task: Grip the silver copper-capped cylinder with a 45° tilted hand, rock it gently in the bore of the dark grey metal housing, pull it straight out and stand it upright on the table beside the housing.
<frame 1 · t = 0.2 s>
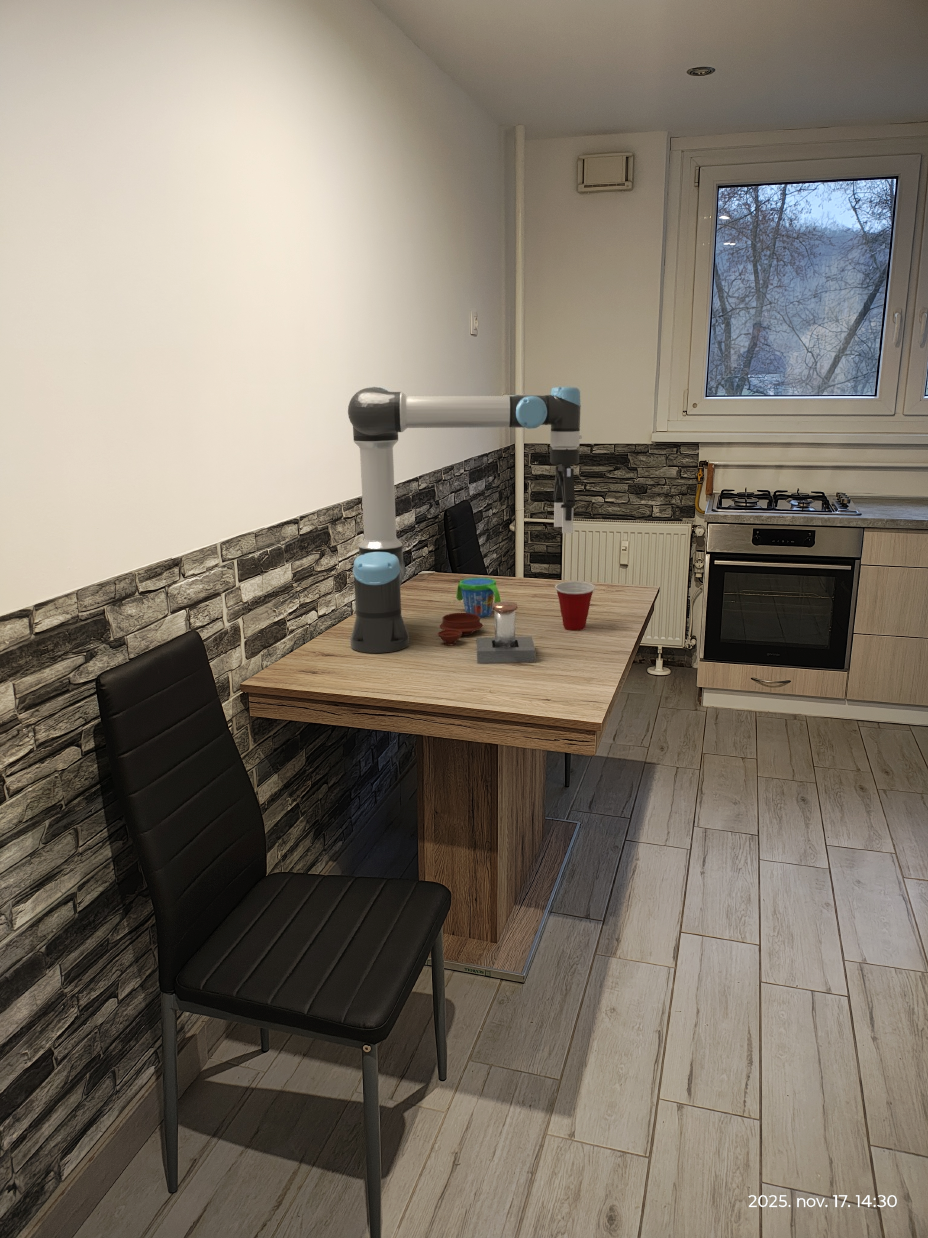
hand: (563, 529, 236), 27 cm above the table, tool pointing down, fingers open, 13 cm apart
metal housing: (505, 655, 220), on the table
plastic cup: (574, 628, 243), on the table
snack cup: (478, 615, 259), on the table
silver copper-capped cylinder: (505, 630, 219), in the metal housing
pottery: (457, 637, 238), on the table
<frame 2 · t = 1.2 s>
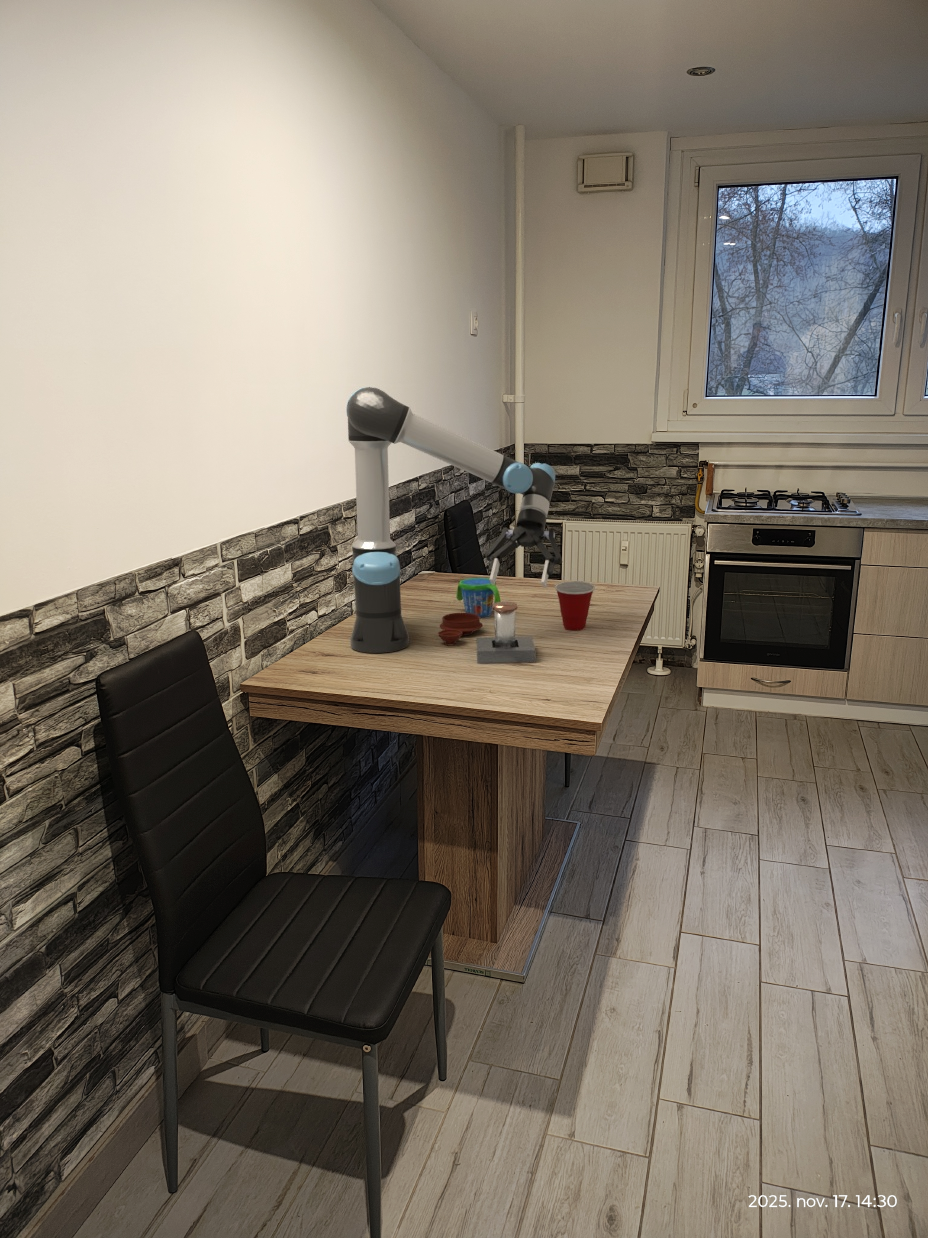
hand: (517, 583, 226), 16 cm above the table, tool tilted 45°, fingers open, 13 cm apart
nothing on the table moved.
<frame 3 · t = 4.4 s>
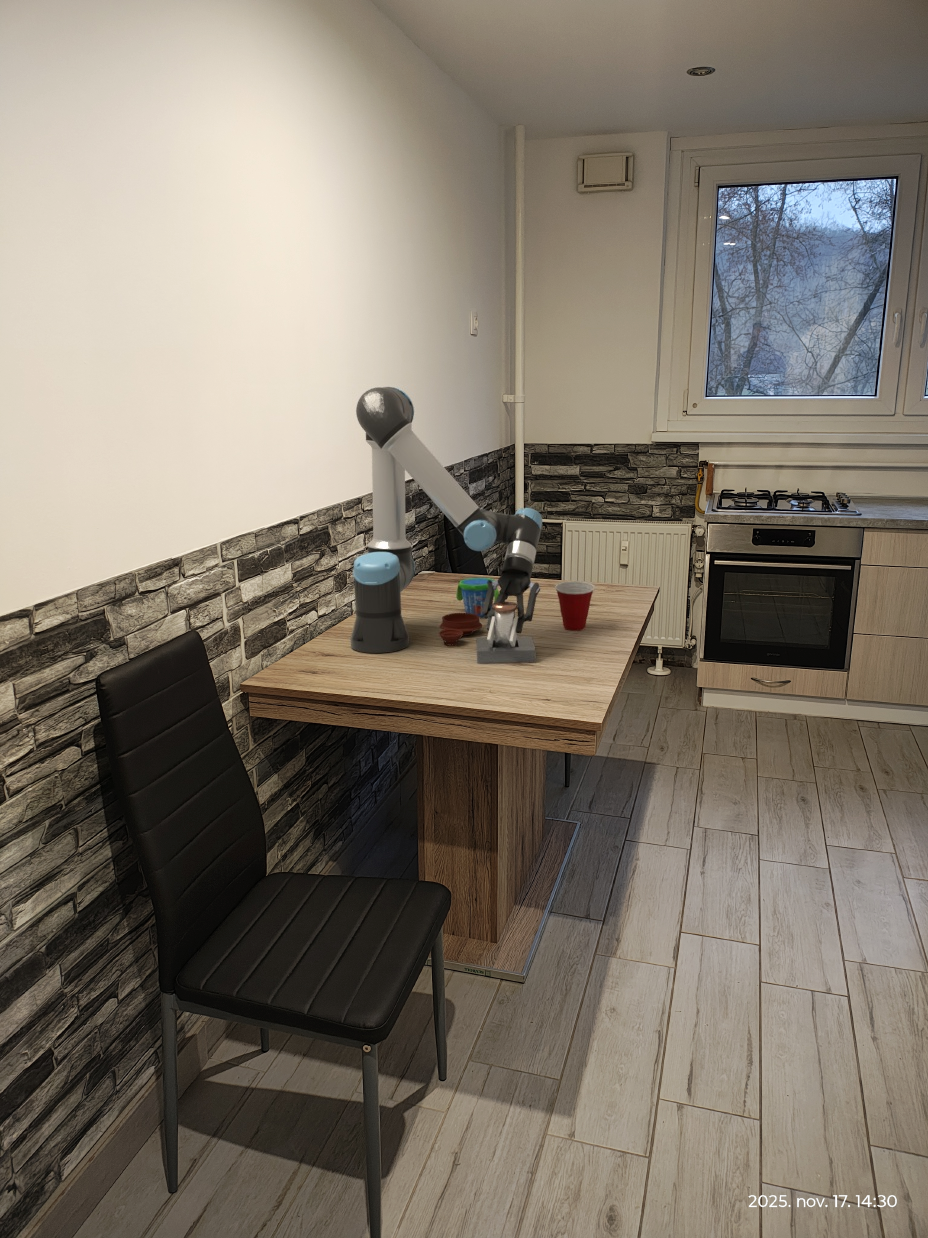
hand: (500, 642, 216), 4 cm above the table, tool tilted 45°, fingers closed on silver copper-capped cylinder, 5 cm apart
silver copper-capped cylinder: (505, 630, 219), in the metal housing, touching gripper
everything else where it was.
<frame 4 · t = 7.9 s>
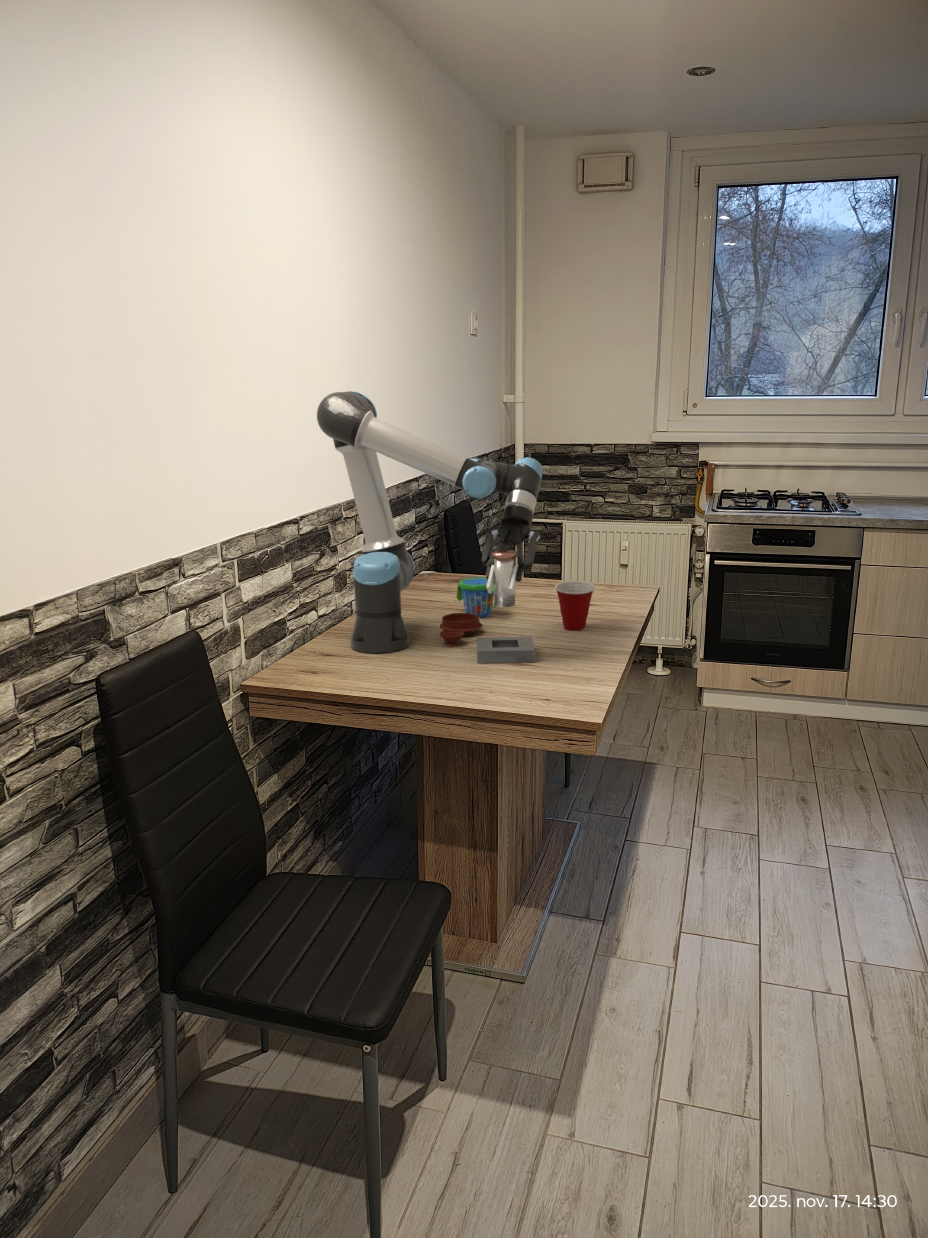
hand: (500, 590, 212), 17 cm above the table, tool tilted 45°, fingers closed on silver copper-capped cylinder, 5 cm apart
silver copper-capped cylinder: (504, 578, 215), point 19 cm above the table, touching gripper
everything else where it was.
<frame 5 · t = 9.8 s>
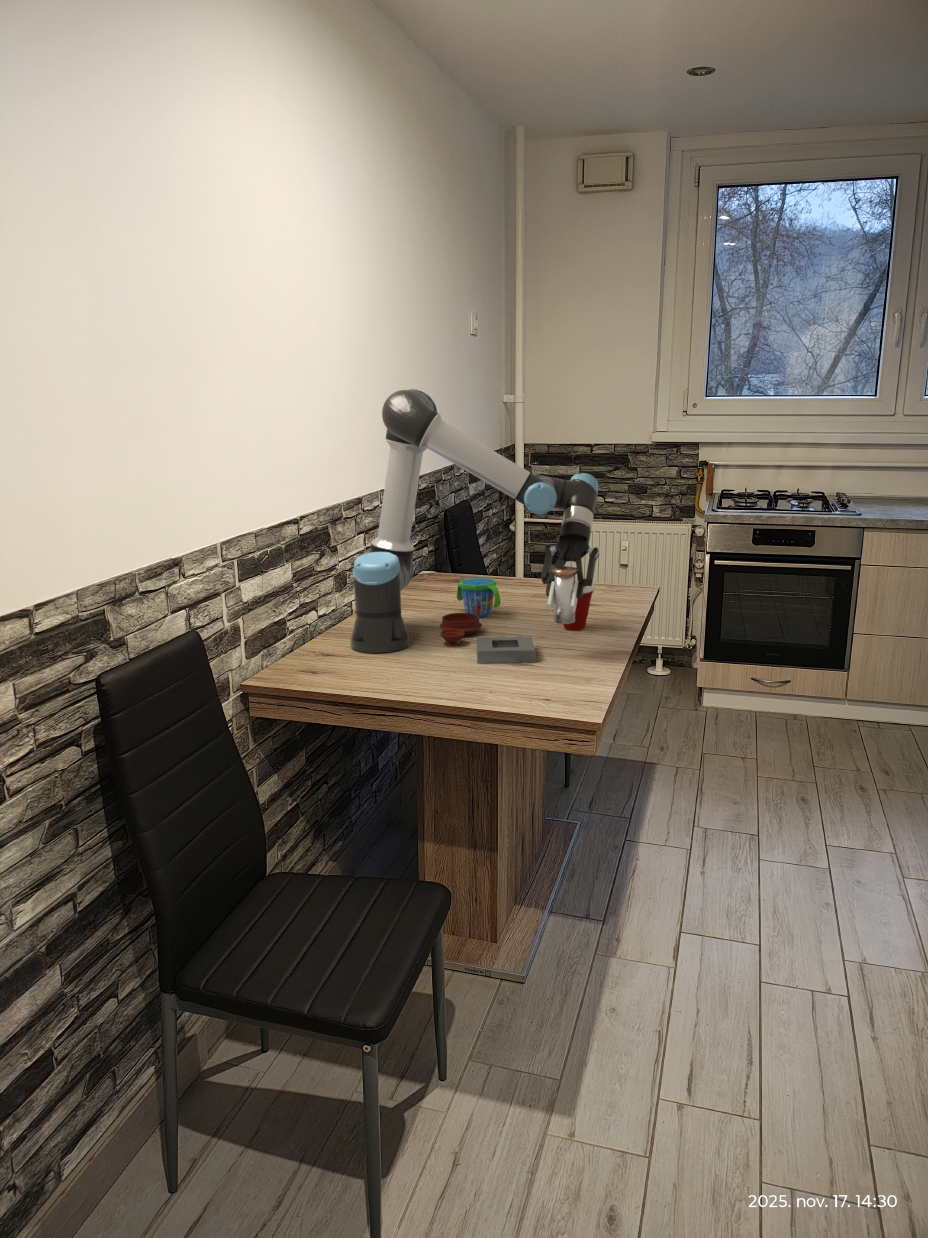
hand: (561, 607, 212), 13 cm above the table, tool tilted 45°, fingers closed on silver copper-capped cylinder, 5 cm apart
silver copper-capped cylinder: (564, 595, 215), point 15 cm above the table, touching gripper
everything else where it was.
when the fingers open (6 cm above the table, at t = 11.3 s): silver copper-capped cylinder drops 1 cm, on the table.
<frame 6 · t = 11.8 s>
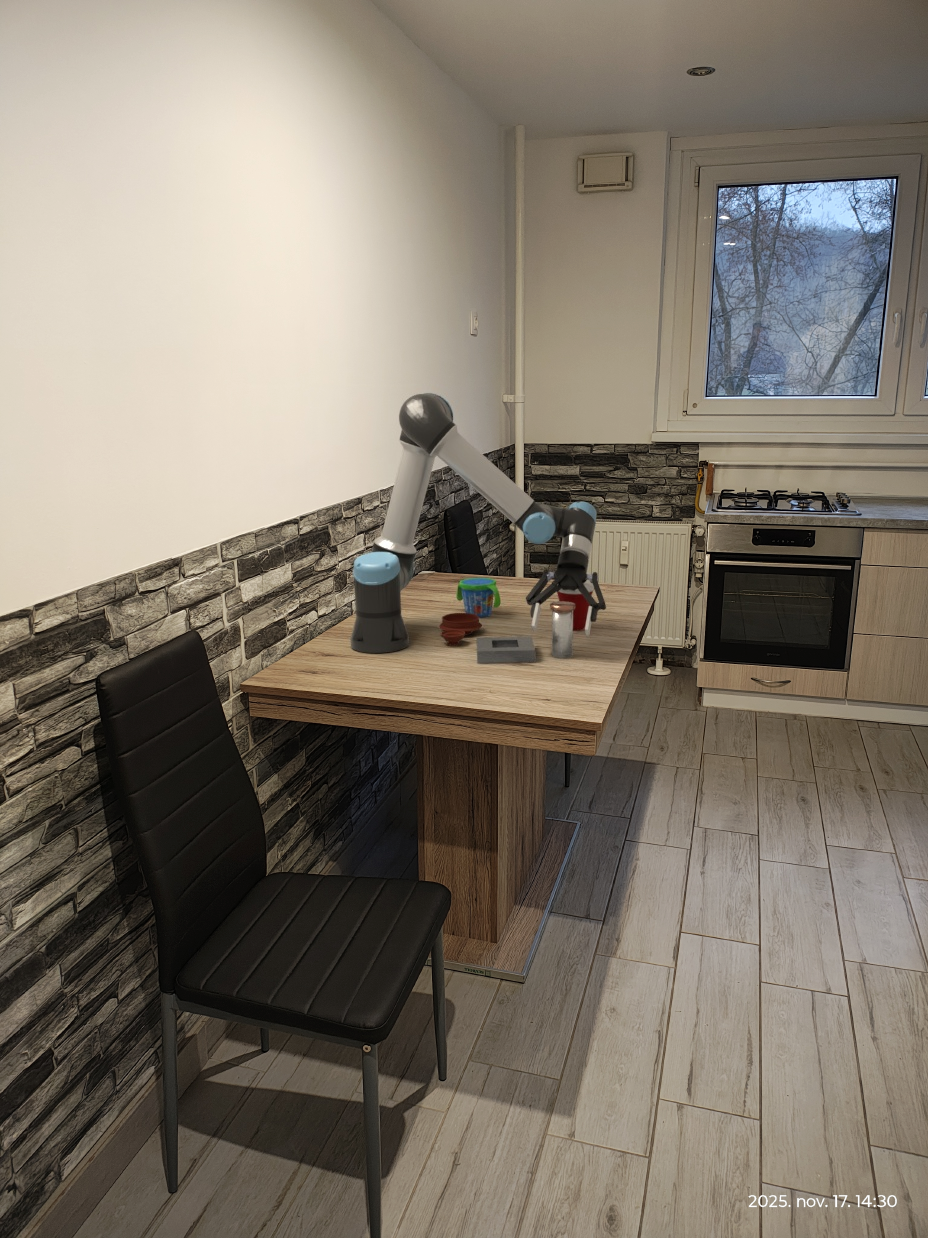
hand: (560, 630, 215), 7 cm above the table, tool tilted 45°, fingers open, 12 cm apart
silver copper-capped cylinder: (562, 630, 218), on the table
everything else where it was.
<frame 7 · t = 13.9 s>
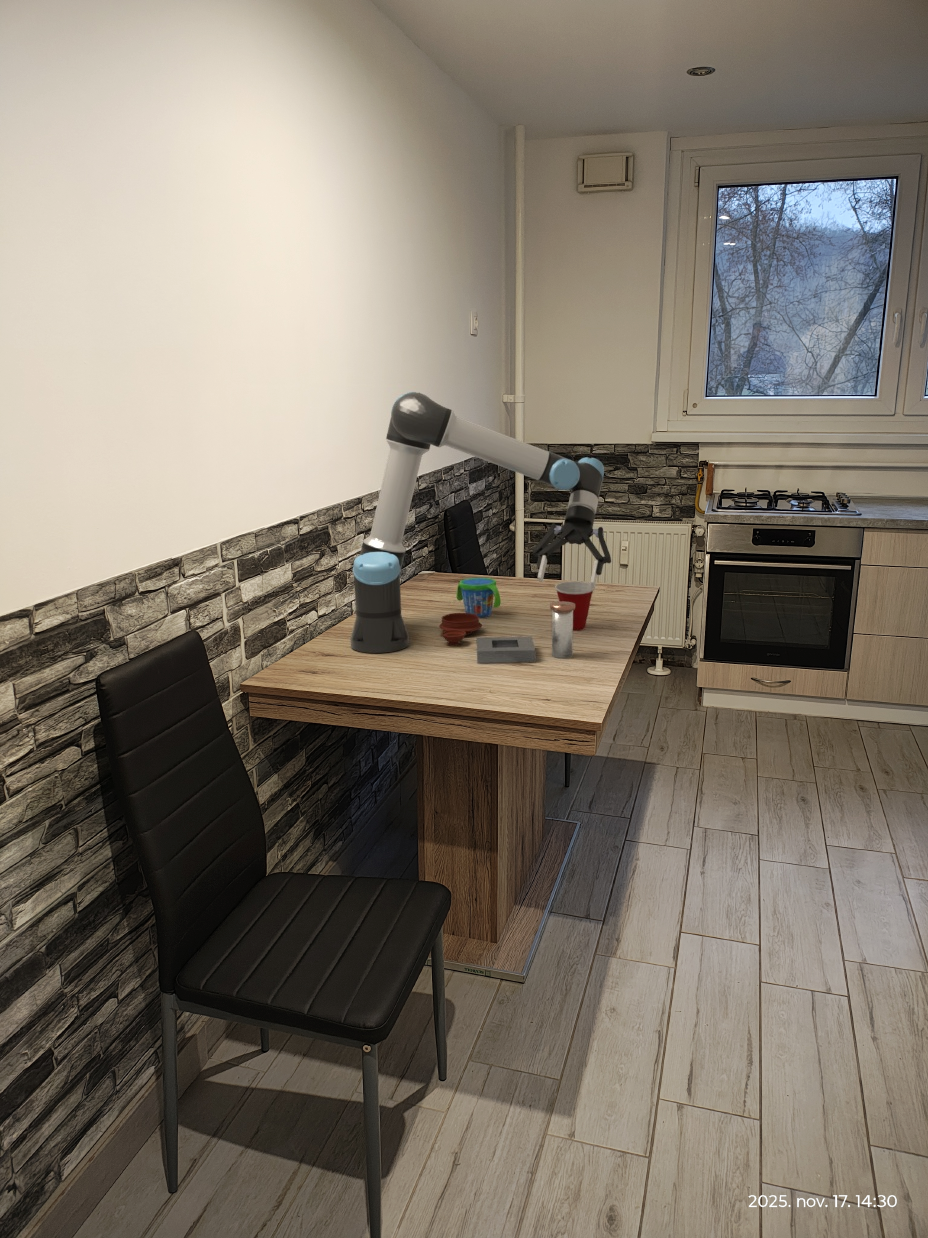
hand: (565, 582, 225), 16 cm above the table, tool tilted 40°, fingers open, 13 cm apart
nothing on the table moved.
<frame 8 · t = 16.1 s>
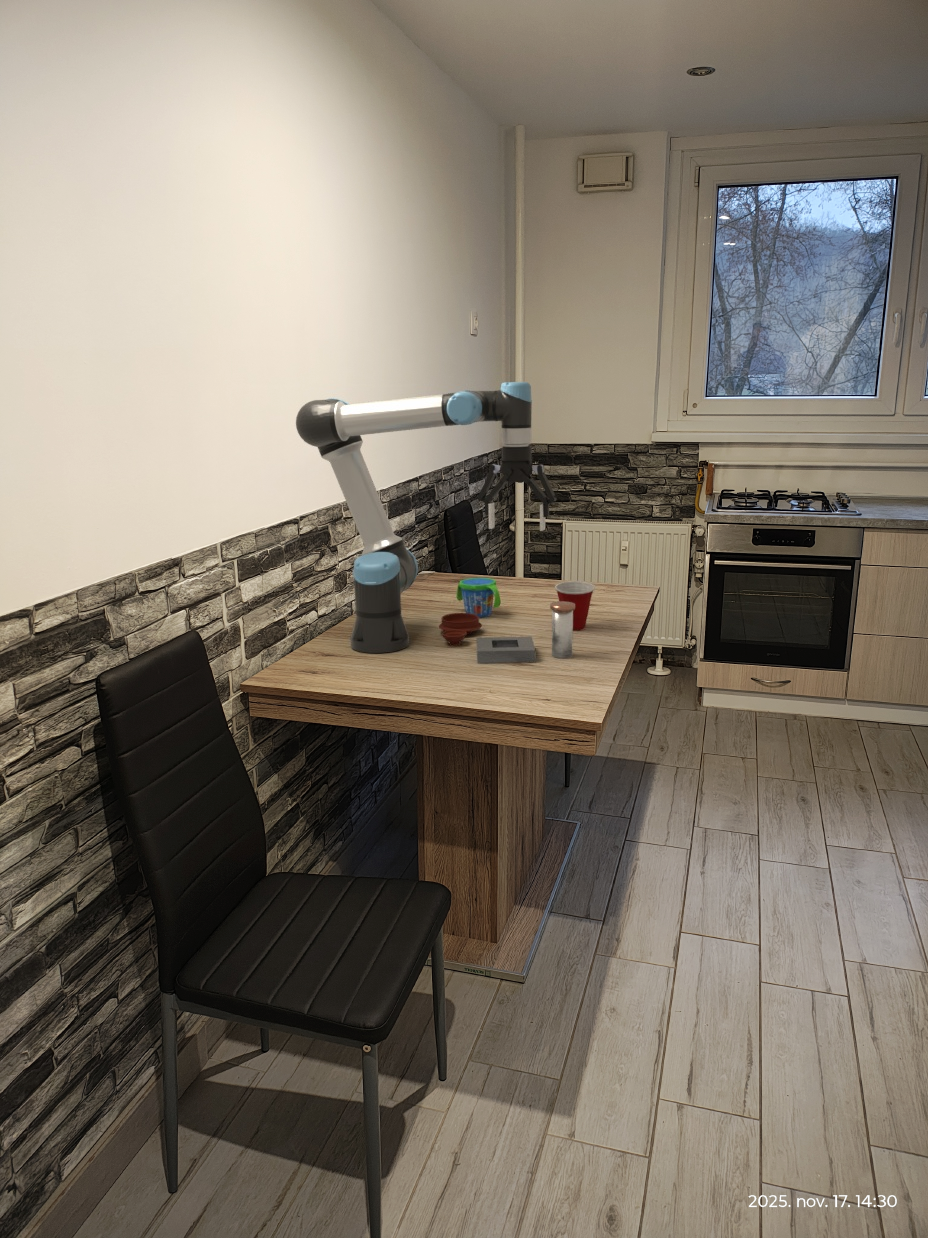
hand: (516, 529, 229), 29 cm above the table, tool pointing down, fingers open, 13 cm apart
nothing on the table moved.
at the end: silver copper-capped cylinder inside the target area (0.0 cm from its centre), on the table; silver copper-capped cylinder tilted 0°; the gripper is holding nothing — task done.
